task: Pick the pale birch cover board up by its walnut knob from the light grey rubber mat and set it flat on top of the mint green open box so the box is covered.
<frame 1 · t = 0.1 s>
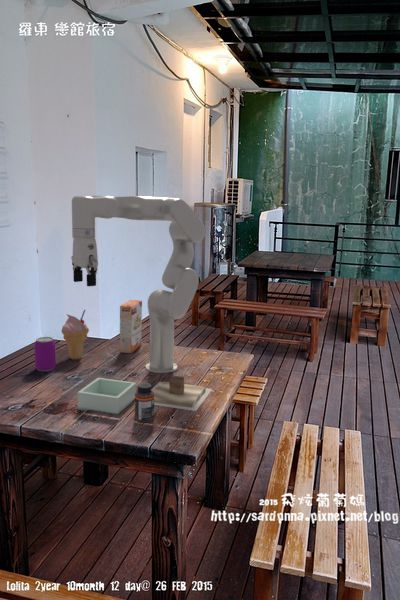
hand: (84, 283, 180), 37 cm above the table, tool pointing down, fingers open, 9 cm apart
ice cream cone: (75, 358, 218), on the table
cracker box: (130, 349, 233), on the table
beverage can: (45, 369, 204), on the table
mint green open box: (107, 404, 172), on the table
cover: (176, 395, 180), point 1 cm above the table, touching mat
supplement bottle: (144, 420, 162), on the table
mat: (176, 397, 180), on the table
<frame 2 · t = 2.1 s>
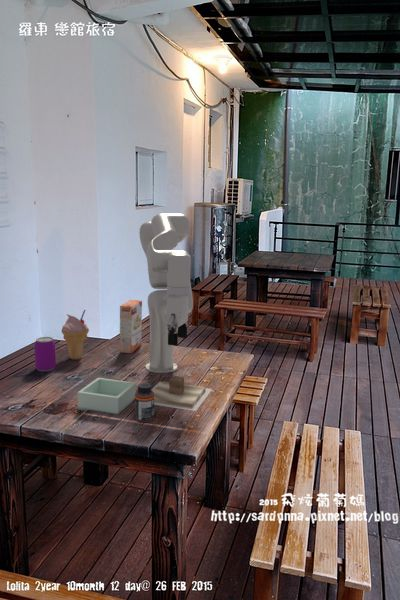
hand: (177, 341, 176), 20 cm above the table, tool pointing down, fingers open, 9 cm apart
nothing on the table moved.
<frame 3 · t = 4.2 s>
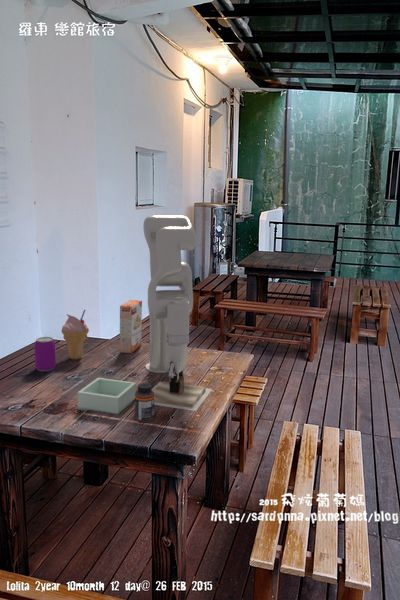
hand: (176, 389, 180), 3 cm above the table, tool pointing down, fingers closed on cover, 4 cm apart
cover: (176, 395, 180), point 1 cm above the table, touching gripper, mat
everything else where it was.
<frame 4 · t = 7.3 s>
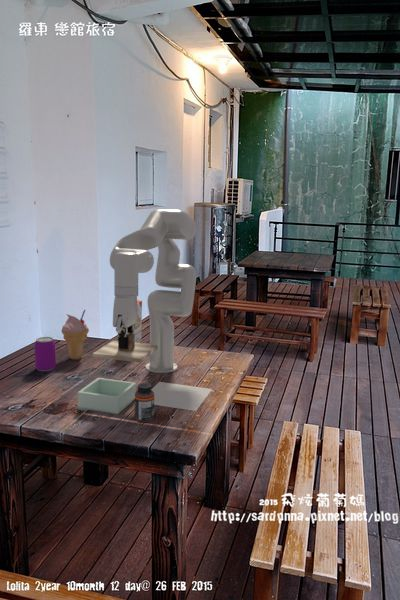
hand: (126, 346, 170), 20 cm above the table, tool pointing down, fingers closed on cover, 4 cm apart
cover: (126, 352, 170), point 17 cm above the table, touching gripper
everything else where it was.
when the fingers open (9 cm above the table, at t = 10.5 s): cover drops 1 cm, resting on mint green open box.
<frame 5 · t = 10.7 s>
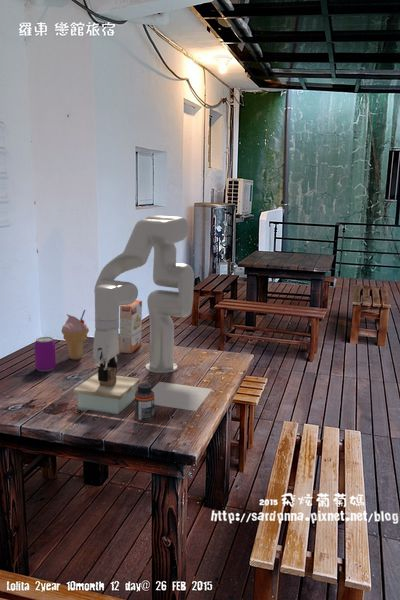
hand: (107, 377, 170), 10 cm above the table, tool pointing down, fingers open, 5 cm apart
cover: (108, 387, 171), point 6 cm above the table, touching mint green open box
everything else where it was.
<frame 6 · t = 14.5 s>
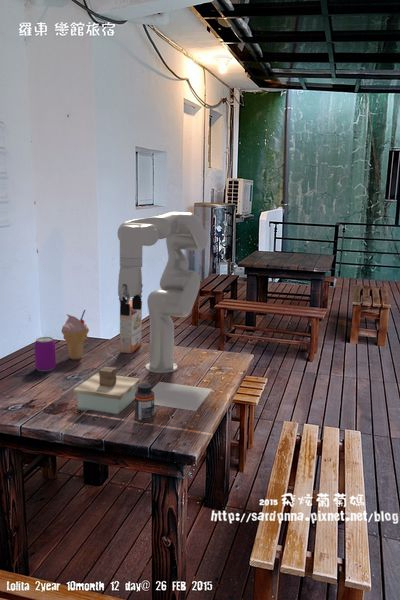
hand: (131, 312, 179), 28 cm above the table, tool pointing down, fingers open, 9 cm apart
nothing on the table moved.
at the end: cover 0.1 cm off-centre on the mint green open box, point 6.0 cm above the mint green open box's base; cover tilted 0°; the gripper is holding nothing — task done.
